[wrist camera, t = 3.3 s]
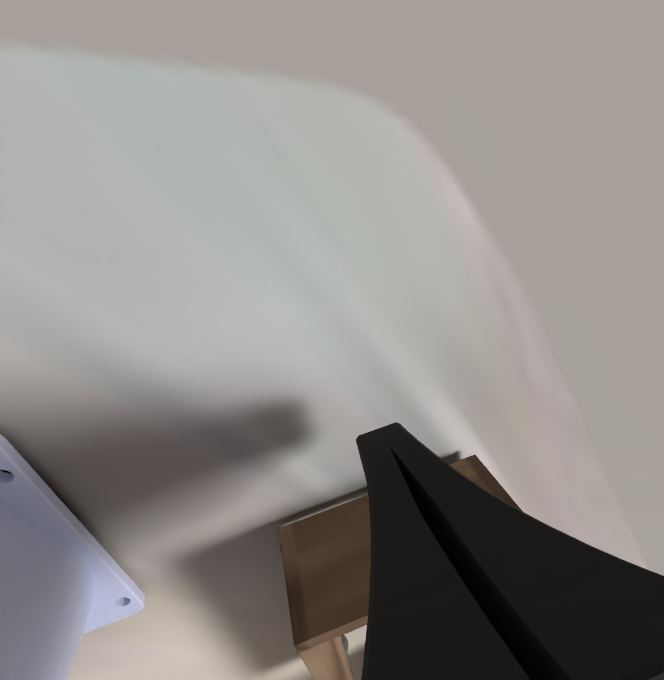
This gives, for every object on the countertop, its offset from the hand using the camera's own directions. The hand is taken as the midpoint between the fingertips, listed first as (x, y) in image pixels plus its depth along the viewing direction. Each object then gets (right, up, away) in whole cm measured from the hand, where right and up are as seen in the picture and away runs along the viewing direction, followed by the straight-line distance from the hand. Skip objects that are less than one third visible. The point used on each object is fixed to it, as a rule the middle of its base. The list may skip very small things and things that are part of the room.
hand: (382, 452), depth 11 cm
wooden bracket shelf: (+1, -7, +7) cm, 10 cm away
